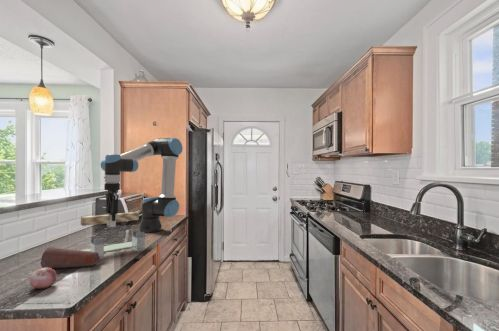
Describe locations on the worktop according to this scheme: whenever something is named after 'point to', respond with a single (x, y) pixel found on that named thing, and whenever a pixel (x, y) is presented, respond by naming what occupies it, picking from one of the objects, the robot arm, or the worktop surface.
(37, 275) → the onion
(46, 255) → the food
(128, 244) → the mat
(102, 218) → the rail
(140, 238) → the post
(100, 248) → the post
